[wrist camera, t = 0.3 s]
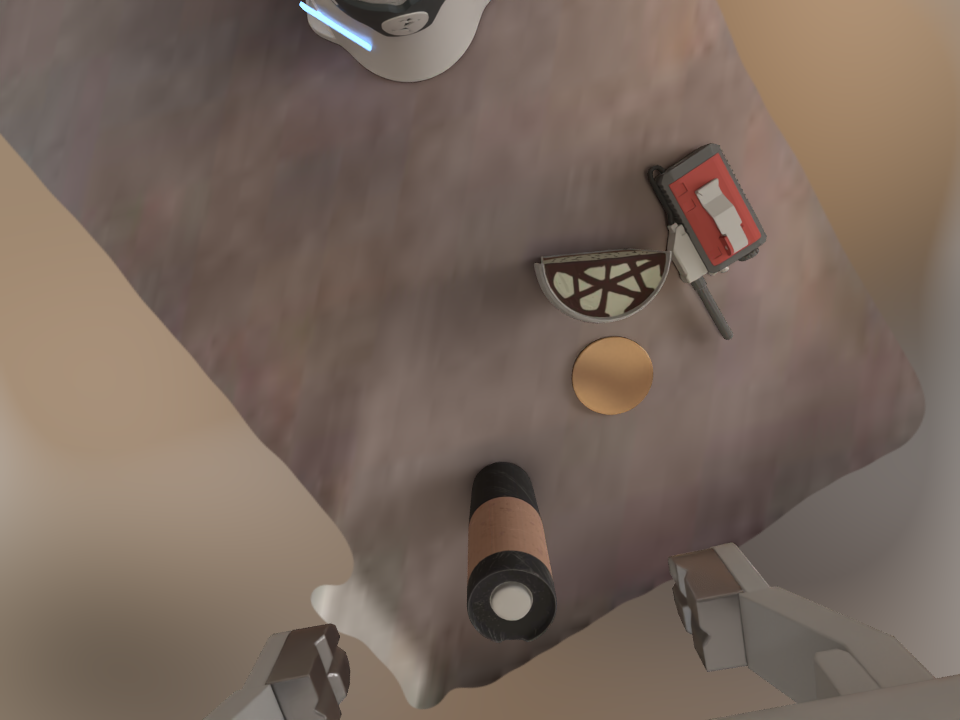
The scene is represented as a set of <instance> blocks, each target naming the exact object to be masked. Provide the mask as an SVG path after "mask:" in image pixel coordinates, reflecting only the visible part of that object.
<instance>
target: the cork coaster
mask: <svg viewBox="0 0 960 720" xmlns="http://www.w3.org/2000/svg"><path fill="white" fill-rule="evenodd" d="M652 380H653V367H652V363H651V360H650V358H649V356H648V354H647V353H646V351H645V350H644V349H643V348H642V347H641V346H640V345H638V344H637V343H636V342H634V341H632V340H630V339H627V338H623V337H616V336H614V337H605V338H601V339H599V340H596V341H594V342H593V343H591V344H589V345H588V346H587V347H586V348H585V349H584V350H583V351H582V352H581V353H580V354H579V356H578V357H577V359H576V361H575V363H574V366H573V370H572V385H573V388H574V391H575V393H576V395H577V397H578V398H579V400H580V401H581V402H582V403H583V404H584V405H585V406H586V407H588V408H589V409H591V410H593V411H595V412H597V413H601V414H608V415H612V414H620V413H623V412H626V411H628V410H630V409H632V408H634V407H635V406H637V405H638V404H639V403H640V402H641V401H642V400H643V399H644V398H645V396H646V395H647V393H648V392H649V389H650V387H651V384H652Z"/></svg>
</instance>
